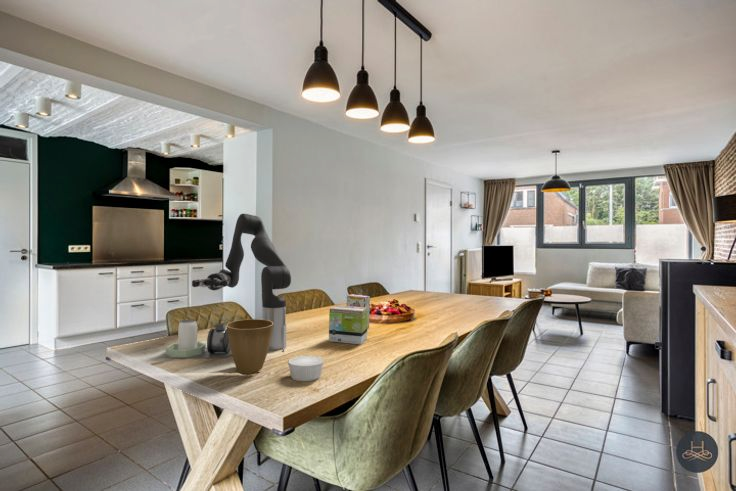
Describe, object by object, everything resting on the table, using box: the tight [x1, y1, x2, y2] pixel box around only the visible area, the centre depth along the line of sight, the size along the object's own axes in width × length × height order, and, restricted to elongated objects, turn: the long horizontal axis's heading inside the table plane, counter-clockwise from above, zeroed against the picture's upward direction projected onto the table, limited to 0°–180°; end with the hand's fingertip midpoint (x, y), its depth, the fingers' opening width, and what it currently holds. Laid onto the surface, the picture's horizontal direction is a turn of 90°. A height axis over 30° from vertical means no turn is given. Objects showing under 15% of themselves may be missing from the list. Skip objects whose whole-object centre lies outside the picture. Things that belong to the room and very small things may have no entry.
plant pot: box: [226, 318, 273, 376], centre depth 132 cm, size 15×15×16 cm
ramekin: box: [287, 355, 324, 382], centre depth 128 cm, size 11×11×5 cm
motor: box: [206, 322, 231, 353], centre depth 150 cm, size 7×9×11 cm
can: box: [177, 318, 198, 350], centre depth 149 cm, size 6×6×12 cm
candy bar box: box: [346, 293, 371, 330], centre depth 201 cm, size 11×5×16 cm, turn 58°
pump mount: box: [158, 340, 232, 359], centre depth 149 cm, size 24×14×4 cm, turn 93°
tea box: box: [328, 304, 368, 346], centre depth 174 cm, size 15×10×15 cm, turn 76°
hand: (205, 284), depth 166 cm, fingers open, 8 cm apart
